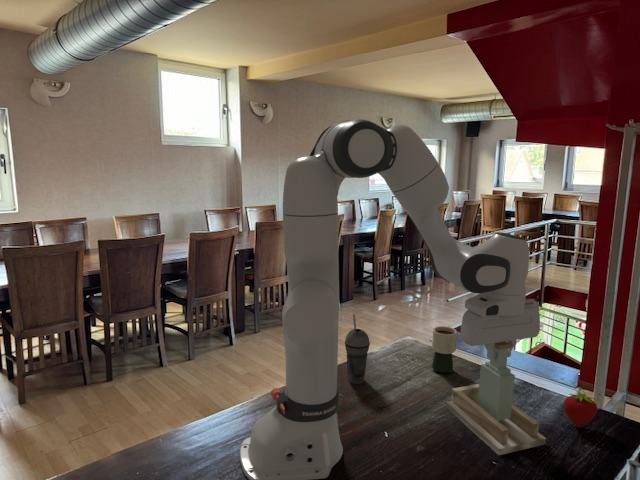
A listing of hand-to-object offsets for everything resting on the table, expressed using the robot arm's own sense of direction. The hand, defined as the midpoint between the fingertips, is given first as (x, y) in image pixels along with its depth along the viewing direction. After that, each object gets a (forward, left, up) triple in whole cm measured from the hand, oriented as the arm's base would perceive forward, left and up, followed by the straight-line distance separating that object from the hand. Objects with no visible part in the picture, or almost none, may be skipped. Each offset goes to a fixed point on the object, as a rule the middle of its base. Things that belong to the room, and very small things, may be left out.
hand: (498, 357), depth 105 cm
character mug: (+4, +28, -18) cm, 33 cm away
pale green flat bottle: (0, 0, -14) cm, 14 cm away
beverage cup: (-24, +30, -18) cm, 42 cm away
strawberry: (+19, -7, -18) cm, 27 cm away
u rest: (0, 0, -18) cm, 18 cm away
